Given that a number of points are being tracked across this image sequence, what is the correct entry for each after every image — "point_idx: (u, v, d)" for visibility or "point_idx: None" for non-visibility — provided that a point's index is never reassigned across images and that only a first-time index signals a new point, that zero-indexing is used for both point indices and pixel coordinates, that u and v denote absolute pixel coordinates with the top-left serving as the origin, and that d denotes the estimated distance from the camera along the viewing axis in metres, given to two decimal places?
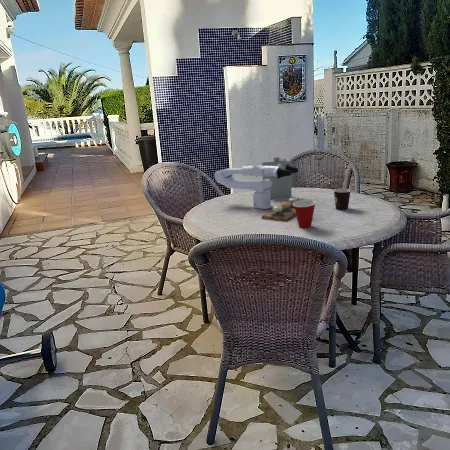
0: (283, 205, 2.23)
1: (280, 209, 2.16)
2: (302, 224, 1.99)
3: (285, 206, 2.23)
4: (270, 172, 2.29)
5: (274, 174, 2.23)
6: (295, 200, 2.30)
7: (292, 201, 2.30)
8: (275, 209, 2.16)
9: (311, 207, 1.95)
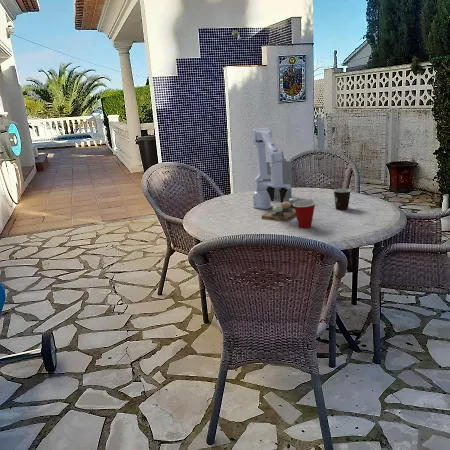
0: (283, 205, 2.23)
1: (280, 209, 2.16)
2: (302, 224, 1.99)
3: (285, 206, 2.23)
4: None
5: None
6: (295, 200, 2.30)
7: (292, 201, 2.30)
8: (275, 209, 2.16)
9: (311, 207, 1.95)
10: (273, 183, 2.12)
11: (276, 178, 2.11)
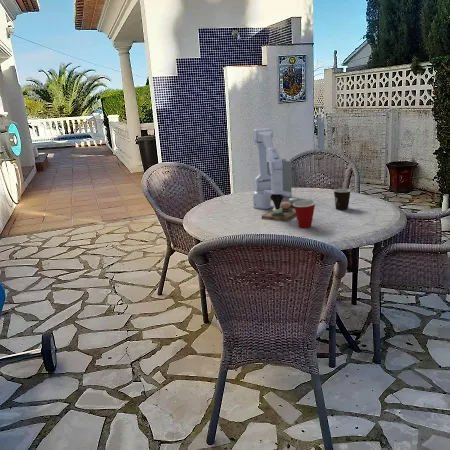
0: (283, 205, 2.23)
1: (280, 211, 2.16)
2: (302, 224, 1.99)
3: (285, 206, 2.23)
4: None
5: None
6: (295, 200, 2.30)
7: (292, 201, 2.30)
8: (275, 211, 2.16)
9: (311, 207, 1.95)
10: (273, 190, 2.13)
11: (276, 185, 2.12)
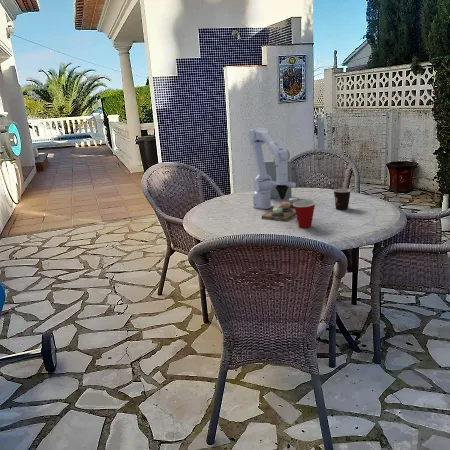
0: (283, 205, 2.23)
1: (280, 211, 2.16)
2: (302, 224, 1.99)
3: (285, 206, 2.23)
4: None
5: None
6: (295, 200, 2.30)
7: (292, 201, 2.30)
8: (275, 211, 2.16)
9: (311, 207, 1.95)
10: (278, 181, 2.17)
11: (281, 176, 2.15)
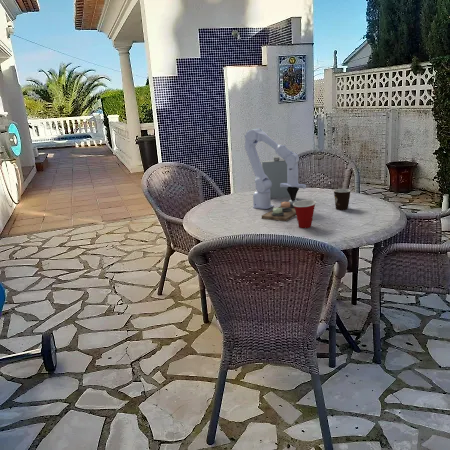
0: (283, 205, 2.23)
1: (280, 211, 2.16)
2: (302, 224, 1.99)
3: (285, 206, 2.23)
4: None
5: None
6: None
7: (292, 203, 2.30)
8: (275, 211, 2.16)
9: (311, 207, 1.95)
10: (289, 183, 2.27)
11: (292, 178, 2.26)
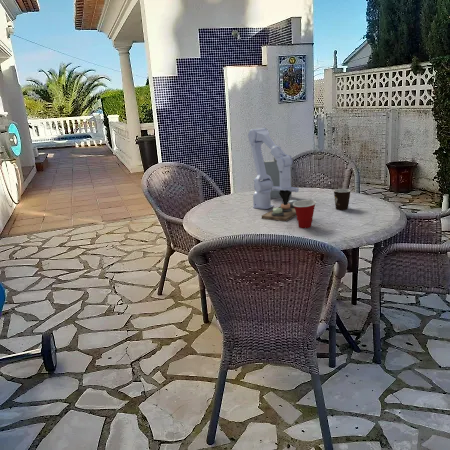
0: (283, 207, 2.23)
1: (280, 211, 2.16)
2: (302, 224, 1.99)
3: (285, 208, 2.23)
4: None
5: None
6: None
7: (292, 203, 2.30)
8: (275, 211, 2.16)
9: (311, 207, 1.95)
10: (282, 186, 2.20)
11: (284, 182, 2.19)
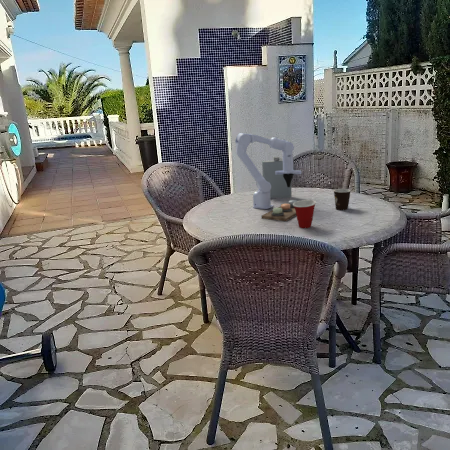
0: (283, 207, 2.23)
1: (280, 211, 2.16)
2: (302, 224, 1.99)
3: (285, 208, 2.23)
4: None
5: None
6: None
7: (292, 203, 2.30)
8: (275, 211, 2.16)
9: (311, 207, 1.95)
10: (286, 170, 2.35)
11: (289, 165, 2.34)
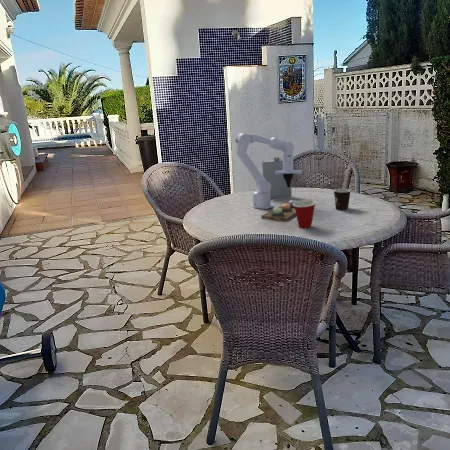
0: (283, 207, 2.23)
1: (280, 211, 2.16)
2: (302, 224, 1.99)
3: (285, 208, 2.23)
4: None
5: None
6: None
7: (292, 203, 2.30)
8: (275, 211, 2.16)
9: (311, 207, 1.95)
10: (286, 170, 2.35)
11: (289, 165, 2.34)
